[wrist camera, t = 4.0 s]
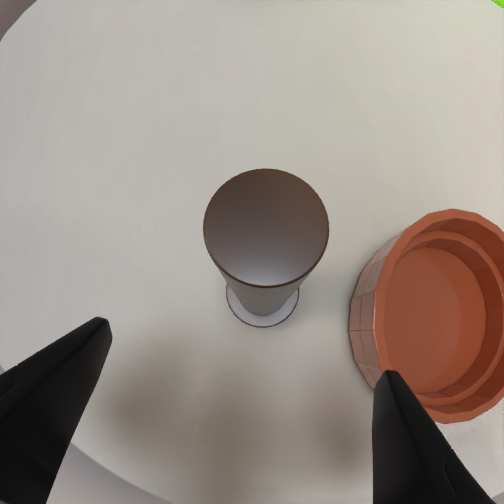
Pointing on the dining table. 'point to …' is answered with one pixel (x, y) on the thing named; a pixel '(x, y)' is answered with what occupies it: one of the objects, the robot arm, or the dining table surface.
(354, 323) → the bowl
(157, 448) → the dining table surface
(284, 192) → the brown cylinder
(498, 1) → the wineglass
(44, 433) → the robot arm
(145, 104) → the dining table surface
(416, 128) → the dining table surface
